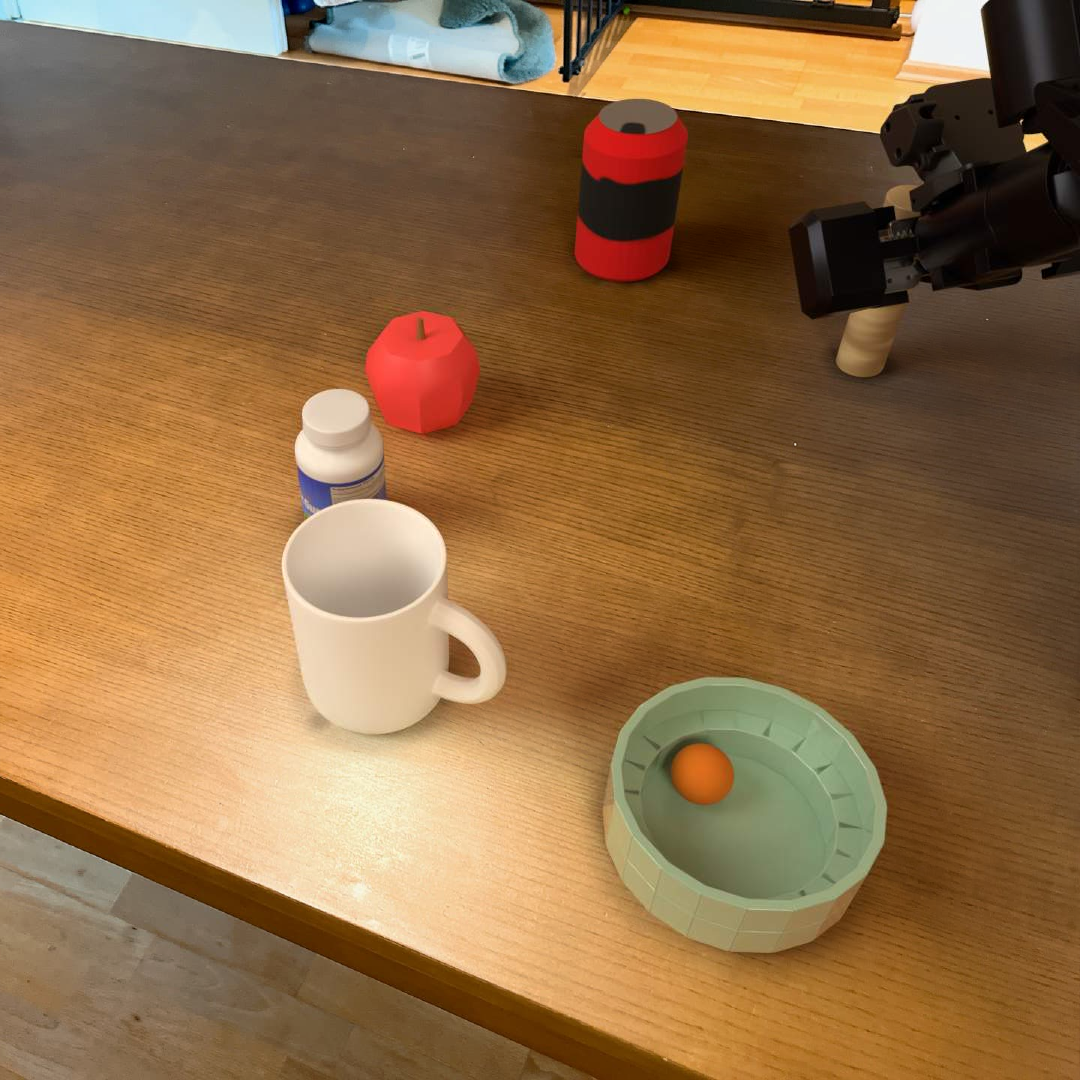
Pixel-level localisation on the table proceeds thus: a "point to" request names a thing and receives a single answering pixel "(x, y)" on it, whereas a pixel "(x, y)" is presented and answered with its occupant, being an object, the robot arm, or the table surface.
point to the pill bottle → (338, 452)
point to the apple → (422, 372)
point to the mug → (380, 618)
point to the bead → (702, 774)
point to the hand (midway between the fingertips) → (875, 273)
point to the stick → (874, 314)
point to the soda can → (629, 189)
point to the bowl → (744, 815)
